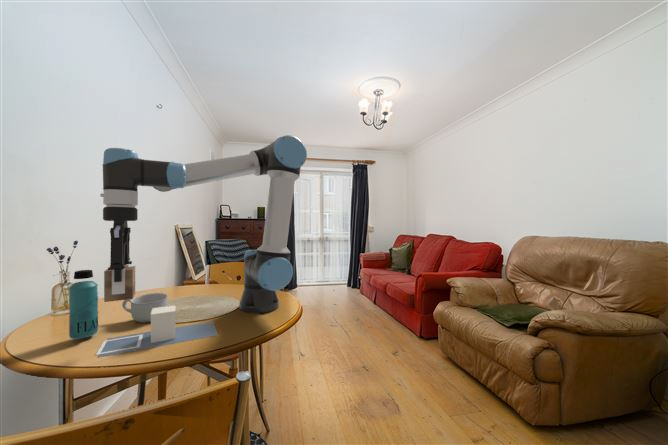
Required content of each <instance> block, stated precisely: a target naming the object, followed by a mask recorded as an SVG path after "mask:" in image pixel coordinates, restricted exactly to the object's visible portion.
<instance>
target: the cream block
mask: <svg viewBox="0 0 668 445" xmlns="http://www.w3.org/2000/svg"><path fill="white" fill-rule="evenodd" d="M176 313H177V312H176V305H169V306H167V307H159V308H152V311H151V322H150V332H151V343H154V342H159V341H165V340H170V339H176V327H177V326H176V324H177V322H176Z"/></svg>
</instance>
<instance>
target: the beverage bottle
mask: <svg viewBox="0 0 668 445" xmlns="http://www.w3.org/2000/svg"><path fill="white" fill-rule="evenodd" d="M93 273H94V272H93V270H92V269H81V270H75V271H74V273H73V280H82V281H77V282H74V283H72V284H71V285H70V286H69V287H68V292H69V294H68V295H69V296H68V299H69V300H68V301H69V304H68V306H69V308H68V309H69V310H68V311H69V315H68V319H69V320H68V336H69V338H70V339H73V340H76V339H84V338H88V337H90V336H94V335H96V334H97V333H98V330H99V309H98V308H99V305H98V304H99V296H98V295H99V294H98V293H99V292H98V286H99V285H98V283H97V282H95V281H94V280H85V279H91V278H93V277H94V274H93Z"/></svg>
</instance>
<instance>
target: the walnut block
mask: <svg viewBox="0 0 668 445" xmlns="http://www.w3.org/2000/svg"><path fill="white" fill-rule="evenodd" d="M124 269H125V293H124V294H114V295H112V270H108V268H107V269H105V270H104V272H103V277H104V278H103V279H104V280H103V281H104V282H103V285H104V288H103V292H104V293H103V294H104V295H103V296H104V297H103V302H104V303H107V302H108V303H110V302H116V301H117V302H118V301H124V300H128V299H133V298H135V295H136V266H135V265H133V266H129V267H124Z"/></svg>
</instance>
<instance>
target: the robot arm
mask: <svg viewBox="0 0 668 445" xmlns="http://www.w3.org/2000/svg"><path fill="white" fill-rule="evenodd" d="M307 157H308V154H307V148H306V146H305V144H304V143H303V141H302V140H300V138H298V137H296V136H294V135H287V134H285V135H283V136H280V137H278V138H276V139H275V141H273V142H271V143H269V144H268V145H267V146H265V147H262V148H260V149H257V150H251V151H250V152H249V154H242V155H235V156H228V157H223V158H222V157H221V158H216V159H210V160H203V161H196V162H190V163H180V162H174V161H162V160H150V159H142V158H139V155H138V153H137V152H136V151H135V150H133V149H126V148H121V147H120V148H119V147H109V148H106V149H105V150H104V151H103V158H102V165H101V166H102V190H103V193H102V192H101V193H100V194H99V195H100V197H101V198H103V200H102V201H103V202H102V204H103V205H105V206H103V208H102V220H103V221H105V222H106V221H107V222H113V225H112V227H111V228H110V230H109V233H110V261H109V262H110V264H109V266H108V267H107V269H108V270H112V295H114V294H124V293H125V269H124V267H130V266H129V265H132V264H133V262H132V260H131V258H130V241H131V240H130V239H131V238H130V234H131V227H129V226H128V222H136V221H138V219H139V218H138V217H139V216H138V214H139V213H138V208H137V206H138V205H139V194H138V193H139V191H138V187H139V186H141V187H152V188H153V189H155V190H157V191H159V192H161V193H166V192H170V191H172V190H175V189H176V190H178V189H184V188H186V187H191V186H197V185H202V184H207V183H212V182H219V181H223V180H228V179H229V180H230V179H234V178H238V177H244V176H249V175H250V176H251V175H254V176H256V177H258V176H264V175H268V176H269V178H270V179H269V180H270V181H269V188H268V189H269V190H268V197H267V205H266V211H265V212H266V213H265V220H264V227H263V229H264V230H263V237H262V243H261V245H260V246H259V247H258V248H257V249H249V250H246V251H245V252H244V255H243V256H244V257H243V261H244V262H243V264H244V266H243V272H244V273H243V277H244V278H243V283H244V284H243V285H244V286H243V291H242V295H241V298H240V301H239V305H238V306H239V310H240V311H242V312H244V313H248V314H249V313H250V314H265V313H268V312H272V311H276V310H277V309H278V308H279V307H280V299H279V296H278V294H277V293H278V292H277V291H279V290H282V289H284V288H285V287H287V285H289V284H290V282H291V280H292V278H293V275H294V267H293V265H292V263H291V262H290V260H291V251H290V250H289V248H288V247H287V246H288V240H289V239H288V238H289V232H290V222H291V213H292V205H293V200H294V199H293V198H294V188H295V182H296V181H297V180H299V178H300V177H301V176H300V175H301V168H302V167H303V165H304V164H305V163H306V161H307Z"/></svg>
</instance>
